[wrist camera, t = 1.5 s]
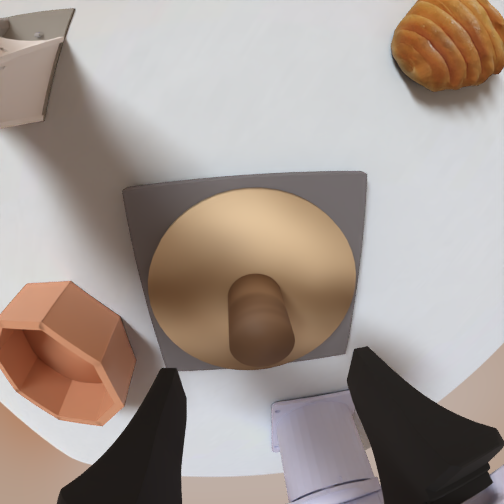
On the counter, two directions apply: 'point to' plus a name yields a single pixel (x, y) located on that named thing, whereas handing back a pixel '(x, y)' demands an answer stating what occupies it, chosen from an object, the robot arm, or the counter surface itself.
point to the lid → (251, 278)
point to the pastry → (450, 43)
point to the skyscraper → (29, 63)
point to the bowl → (66, 352)
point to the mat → (193, 191)
